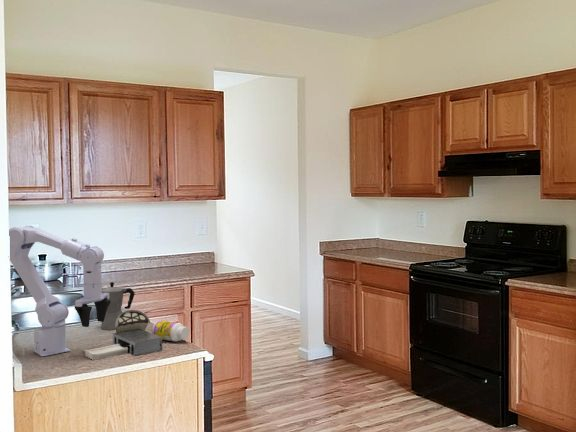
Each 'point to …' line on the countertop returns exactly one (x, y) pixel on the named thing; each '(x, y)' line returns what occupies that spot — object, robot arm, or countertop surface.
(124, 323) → the food container
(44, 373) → the countertop surface
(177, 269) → the countertop surface
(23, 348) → the countertop surface
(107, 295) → the robot arm
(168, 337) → the supplement bottle
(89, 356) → the tray
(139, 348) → the shelf
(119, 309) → the coffeepot
